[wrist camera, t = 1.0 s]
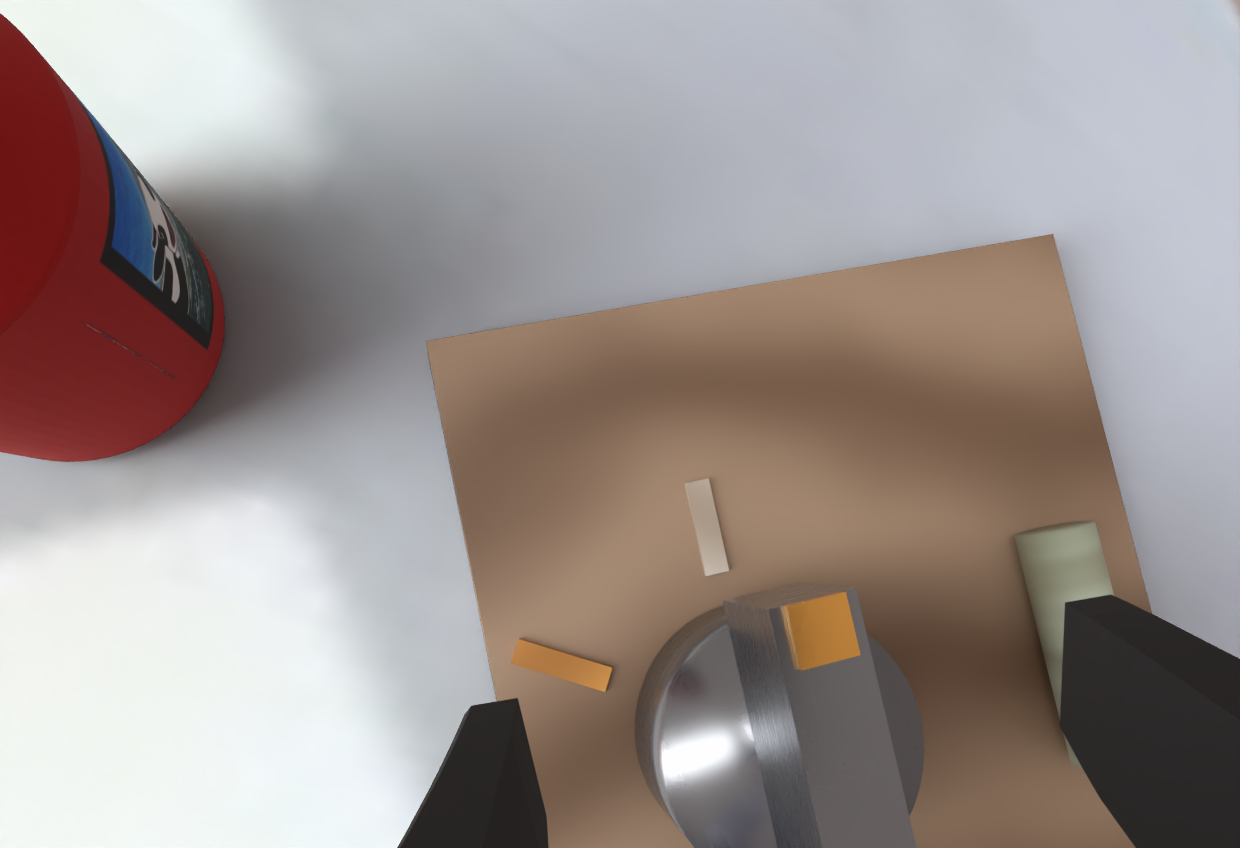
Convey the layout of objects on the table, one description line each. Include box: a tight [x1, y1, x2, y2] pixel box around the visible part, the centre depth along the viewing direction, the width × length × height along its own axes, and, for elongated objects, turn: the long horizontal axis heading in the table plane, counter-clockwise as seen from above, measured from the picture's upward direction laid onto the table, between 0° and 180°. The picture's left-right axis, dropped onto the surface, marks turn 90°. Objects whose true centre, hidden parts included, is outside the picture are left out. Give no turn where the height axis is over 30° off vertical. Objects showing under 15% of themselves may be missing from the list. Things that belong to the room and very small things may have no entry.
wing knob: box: [635, 582, 924, 848], centre depth 20 cm, size 7×6×6 cm
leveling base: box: [426, 234, 1152, 848], centre depth 24 cm, size 22×18×4 cm
